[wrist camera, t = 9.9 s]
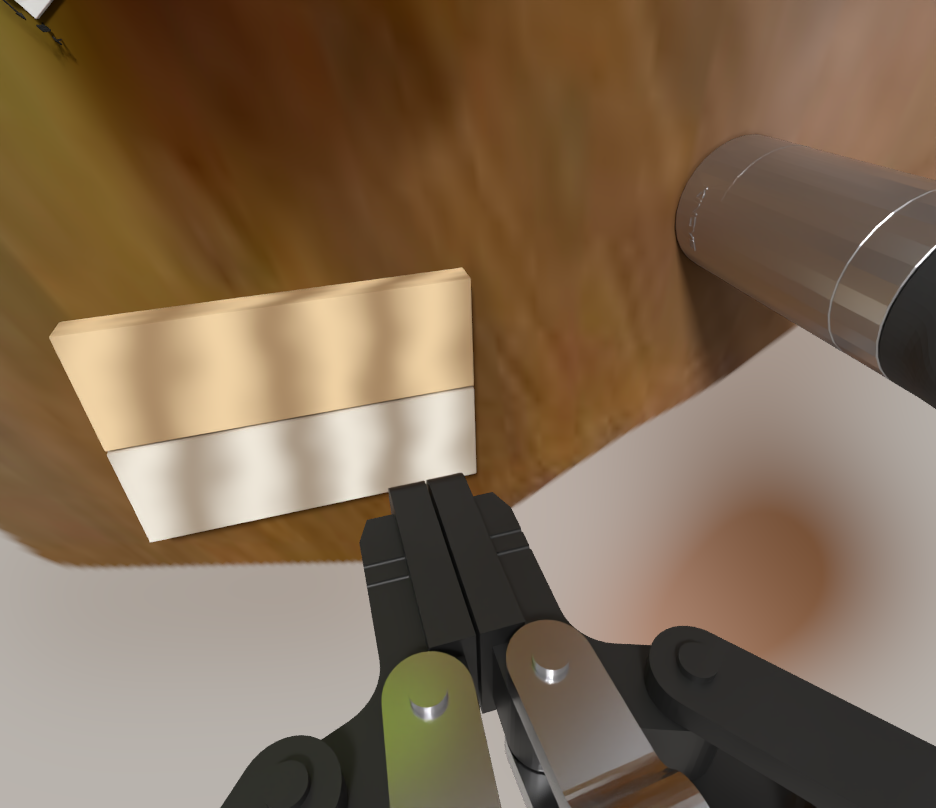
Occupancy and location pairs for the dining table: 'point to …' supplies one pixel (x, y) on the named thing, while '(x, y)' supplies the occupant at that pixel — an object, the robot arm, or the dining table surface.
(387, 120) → the dining table surface
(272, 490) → the whitewashed oak board
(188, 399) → the honey oak plank
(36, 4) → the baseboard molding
